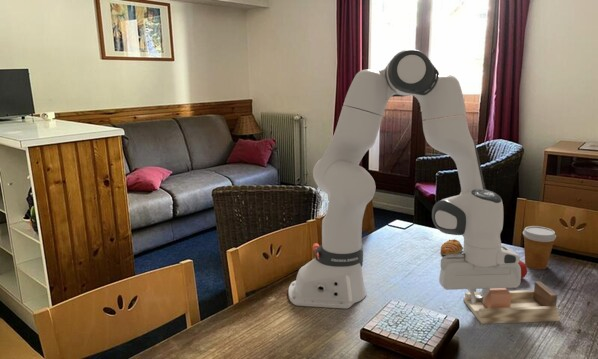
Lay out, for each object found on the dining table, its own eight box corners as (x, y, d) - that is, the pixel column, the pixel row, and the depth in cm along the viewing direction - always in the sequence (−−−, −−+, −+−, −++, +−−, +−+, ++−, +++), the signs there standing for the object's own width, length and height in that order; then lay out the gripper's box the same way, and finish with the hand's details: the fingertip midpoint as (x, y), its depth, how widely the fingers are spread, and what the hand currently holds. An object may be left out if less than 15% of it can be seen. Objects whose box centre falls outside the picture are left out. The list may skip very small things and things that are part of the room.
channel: (481, 323, 115) (483, 302, 114) (463, 300, 127) (464, 280, 125) (559, 320, 116) (562, 299, 114) (534, 298, 127) (536, 278, 126)
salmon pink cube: (490, 312, 118) (492, 294, 117) (482, 302, 123) (483, 285, 122) (509, 311, 118) (511, 294, 117) (500, 302, 123) (502, 285, 122)
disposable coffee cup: (558, 266, 147) (562, 231, 144) (542, 274, 142) (546, 238, 139) (529, 257, 154) (533, 223, 152) (513, 264, 149) (516, 229, 147)
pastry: (455, 259, 154) (455, 249, 154) (435, 255, 158) (436, 244, 157) (463, 250, 162) (464, 240, 161) (445, 246, 166) (445, 236, 165)
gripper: (445, 259, 114) (442, 309, 117) (526, 256, 114) (521, 307, 117) (437, 249, 120) (434, 297, 123) (514, 247, 120) (509, 295, 123)
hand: (477, 302), depth 120 cm, fingers closed
